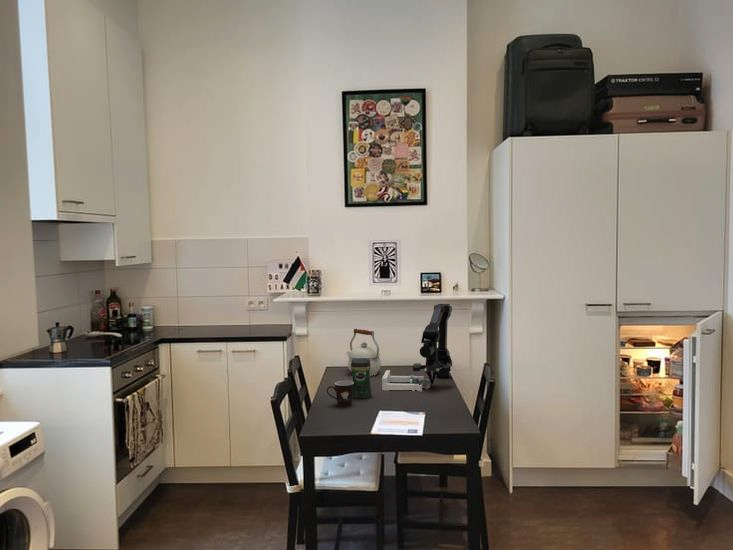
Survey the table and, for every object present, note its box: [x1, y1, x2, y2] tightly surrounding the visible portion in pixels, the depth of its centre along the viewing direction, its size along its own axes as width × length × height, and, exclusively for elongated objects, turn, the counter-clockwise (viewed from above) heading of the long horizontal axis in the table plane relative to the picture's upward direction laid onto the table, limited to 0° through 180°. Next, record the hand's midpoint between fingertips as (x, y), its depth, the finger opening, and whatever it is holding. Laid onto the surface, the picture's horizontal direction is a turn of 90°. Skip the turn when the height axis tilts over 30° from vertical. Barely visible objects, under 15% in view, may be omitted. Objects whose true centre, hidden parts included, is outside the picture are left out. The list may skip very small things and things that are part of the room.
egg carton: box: [414, 377, 431, 390], centre depth 269 cm, size 11×8×4 cm
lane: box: [381, 369, 425, 392], centre depth 271 cm, size 20×18×6 cm
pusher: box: [409, 374, 415, 384], centre depth 270 cm, size 1×12×5 cm, turn 171°
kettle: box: [346, 328, 382, 377], centre depth 299 cm, size 25×18×25 cm
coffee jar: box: [350, 358, 373, 399], centre depth 254 cm, size 10×8×19 cm
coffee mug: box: [326, 380, 354, 408], centre depth 242 cm, size 12×9×10 cm
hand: (432, 384), depth 269 cm, fingers closed
